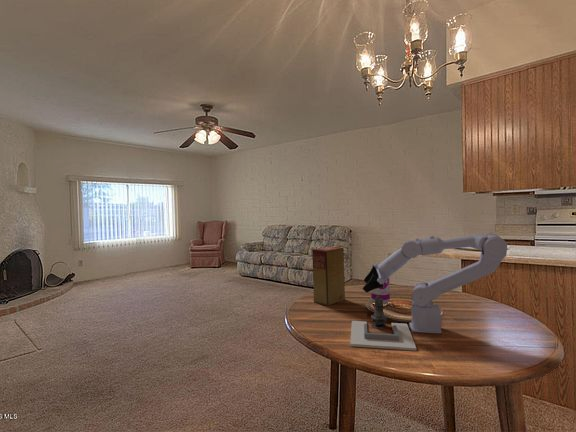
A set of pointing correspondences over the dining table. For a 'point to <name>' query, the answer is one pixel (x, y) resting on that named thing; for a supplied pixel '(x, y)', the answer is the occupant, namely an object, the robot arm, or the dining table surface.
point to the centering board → (382, 337)
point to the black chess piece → (379, 314)
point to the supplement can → (382, 292)
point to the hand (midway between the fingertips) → (365, 286)
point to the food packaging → (328, 275)
